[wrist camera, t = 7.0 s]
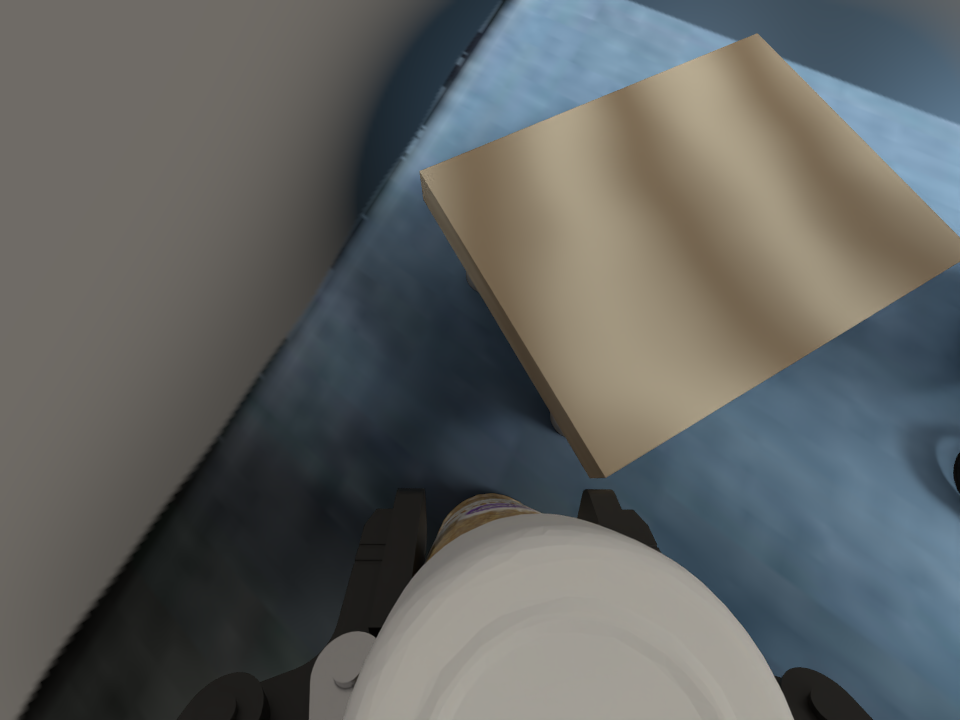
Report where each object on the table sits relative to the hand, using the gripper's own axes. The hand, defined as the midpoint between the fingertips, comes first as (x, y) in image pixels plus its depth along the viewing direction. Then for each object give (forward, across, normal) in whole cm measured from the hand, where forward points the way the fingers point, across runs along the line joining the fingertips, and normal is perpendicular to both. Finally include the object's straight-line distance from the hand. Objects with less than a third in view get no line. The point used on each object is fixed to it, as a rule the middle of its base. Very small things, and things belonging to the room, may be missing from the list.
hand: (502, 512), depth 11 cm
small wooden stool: (+11, -7, -3) cm, 14 cm away
